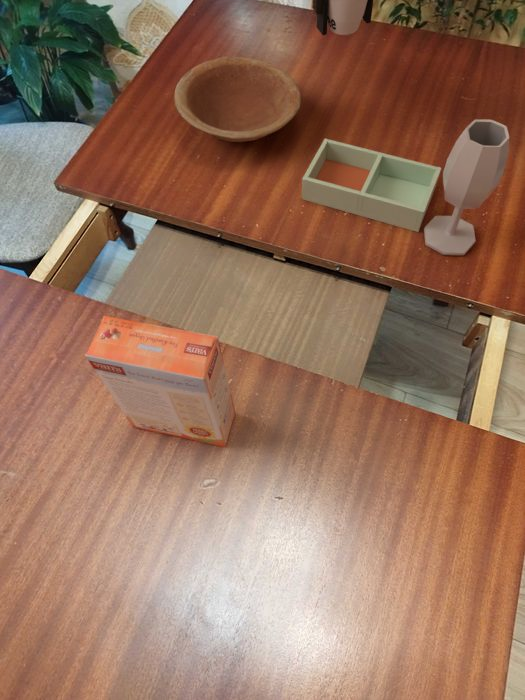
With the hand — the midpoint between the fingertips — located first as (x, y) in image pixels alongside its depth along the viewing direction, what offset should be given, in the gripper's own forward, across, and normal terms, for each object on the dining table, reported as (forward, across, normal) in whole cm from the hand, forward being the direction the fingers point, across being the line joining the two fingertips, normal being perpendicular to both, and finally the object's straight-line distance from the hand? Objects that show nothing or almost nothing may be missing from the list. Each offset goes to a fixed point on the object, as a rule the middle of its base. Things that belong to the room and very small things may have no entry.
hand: (343, 24), depth 95 cm
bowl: (+17, +20, -3) cm, 26 cm away
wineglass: (+17, -4, +38) cm, 42 cm away
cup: (0, 0, 0) cm, 0 cm away
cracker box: (+17, +48, +53) cm, 74 cm away
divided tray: (+17, +4, +24) cm, 29 cm away
